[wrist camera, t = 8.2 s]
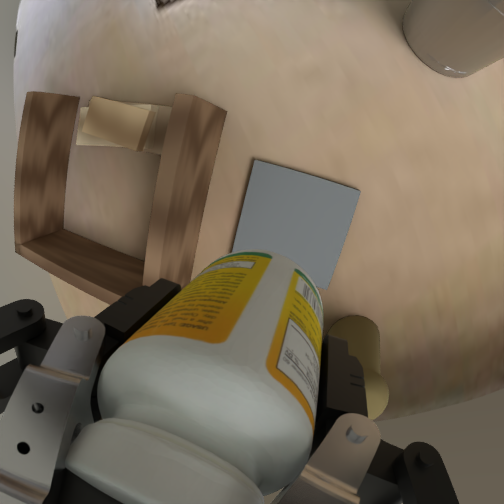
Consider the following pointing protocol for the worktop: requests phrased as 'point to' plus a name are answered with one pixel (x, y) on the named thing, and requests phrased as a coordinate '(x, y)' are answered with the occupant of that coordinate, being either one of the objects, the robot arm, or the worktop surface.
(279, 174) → the slate mat
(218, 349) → the supplement bottle
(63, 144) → the walnut open frame
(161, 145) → the offcut stack
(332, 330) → the cork
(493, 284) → the worktop surface
